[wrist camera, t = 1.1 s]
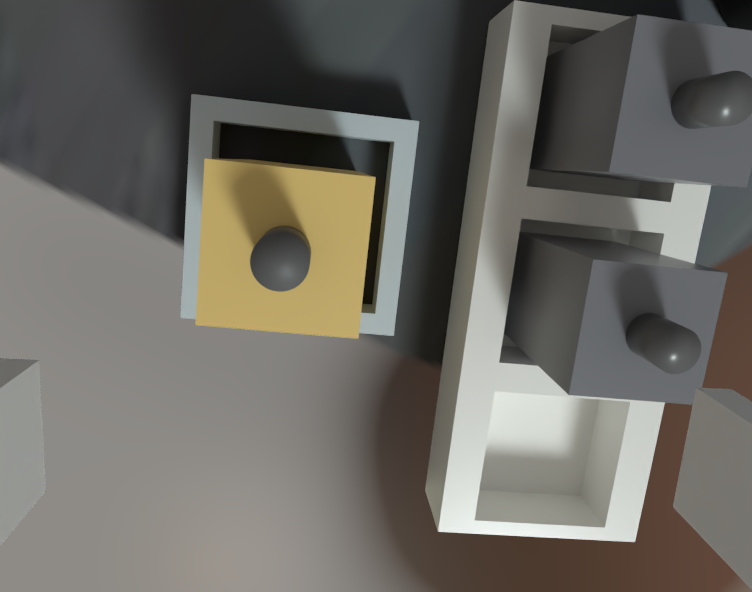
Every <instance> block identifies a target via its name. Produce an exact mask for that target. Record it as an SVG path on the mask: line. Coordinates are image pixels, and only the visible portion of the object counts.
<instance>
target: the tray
mask: <svg viewBox="0 0 752 592" xmlns="http://www.w3.org/2000/svg"><path fill="white" fill-rule="evenodd" d="M221 123H224V124H233V125H241V126H250V127H258V128H267V129H276V130H284V131H293V132H301V133H310V134H319V135H327V136H336V137H345V138H353V139H362V140H370V141H379V142H388V143H390V148H389V157H388V166H387V175H386V184H385V193H384V202H383V211H382V220H381V229H380V238H379V247H378V256H377V265H376V274H375V283H374V292H373V301H372V304H362V310H361V319H360V328H359V333H366V334H378V335H390V336H394V329H395V320H396V312H397V303H398V295H399V287H400V278H401V270H402V262H403V253H404V245H405V236H406V228H407V220H408V211H409V203H410V195H411V186H412V178H413V169H414V161H415V153H416V144H417V136H418V128H419V121H413V120H404V119H396V118H388V117H379V116H371V115H363V114H355V113H346V112H338V111H330V110H321V109H313V108H305V107H296V106H288V105H280V104H271V103H263V102H255V101H246V100H238V99H230V98H222V97H213V96H205V95H197V94H191V112H190V133H189V154H188V174H187V195H186V216H185V236H184V258H183V278H182V298H181V318H189V319H196V308H197V289H198V271H199V252H200V233H201V215H202V196H203V177H204V159H205V158H209V159H219V148H220V131H221Z"/></svg>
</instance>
